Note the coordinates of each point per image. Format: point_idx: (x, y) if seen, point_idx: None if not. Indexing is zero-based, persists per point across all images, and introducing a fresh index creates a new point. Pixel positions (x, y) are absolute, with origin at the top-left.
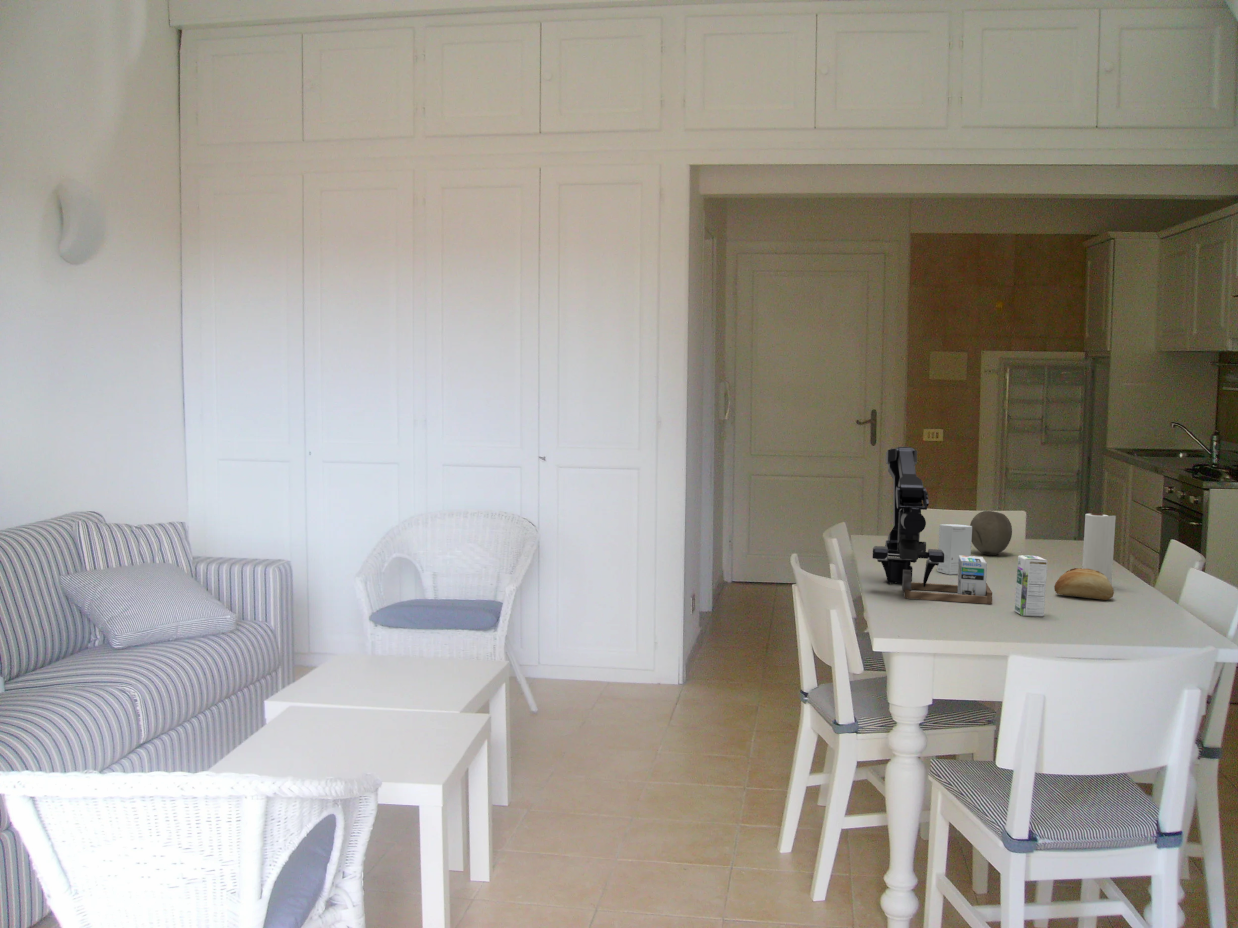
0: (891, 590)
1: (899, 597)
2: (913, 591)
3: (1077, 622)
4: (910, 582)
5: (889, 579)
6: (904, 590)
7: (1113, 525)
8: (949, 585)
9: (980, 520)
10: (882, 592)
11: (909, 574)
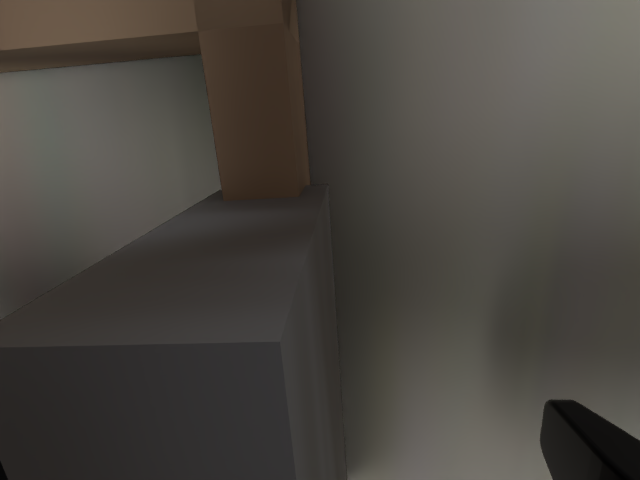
0: (461, 455)
1: (376, 44)
2: (130, 18)
3: None
4: (155, 239)
5: (619, 455)
6: (306, 192)
7: None
8: None
9: None
10: (587, 315)
11: (59, 400)
